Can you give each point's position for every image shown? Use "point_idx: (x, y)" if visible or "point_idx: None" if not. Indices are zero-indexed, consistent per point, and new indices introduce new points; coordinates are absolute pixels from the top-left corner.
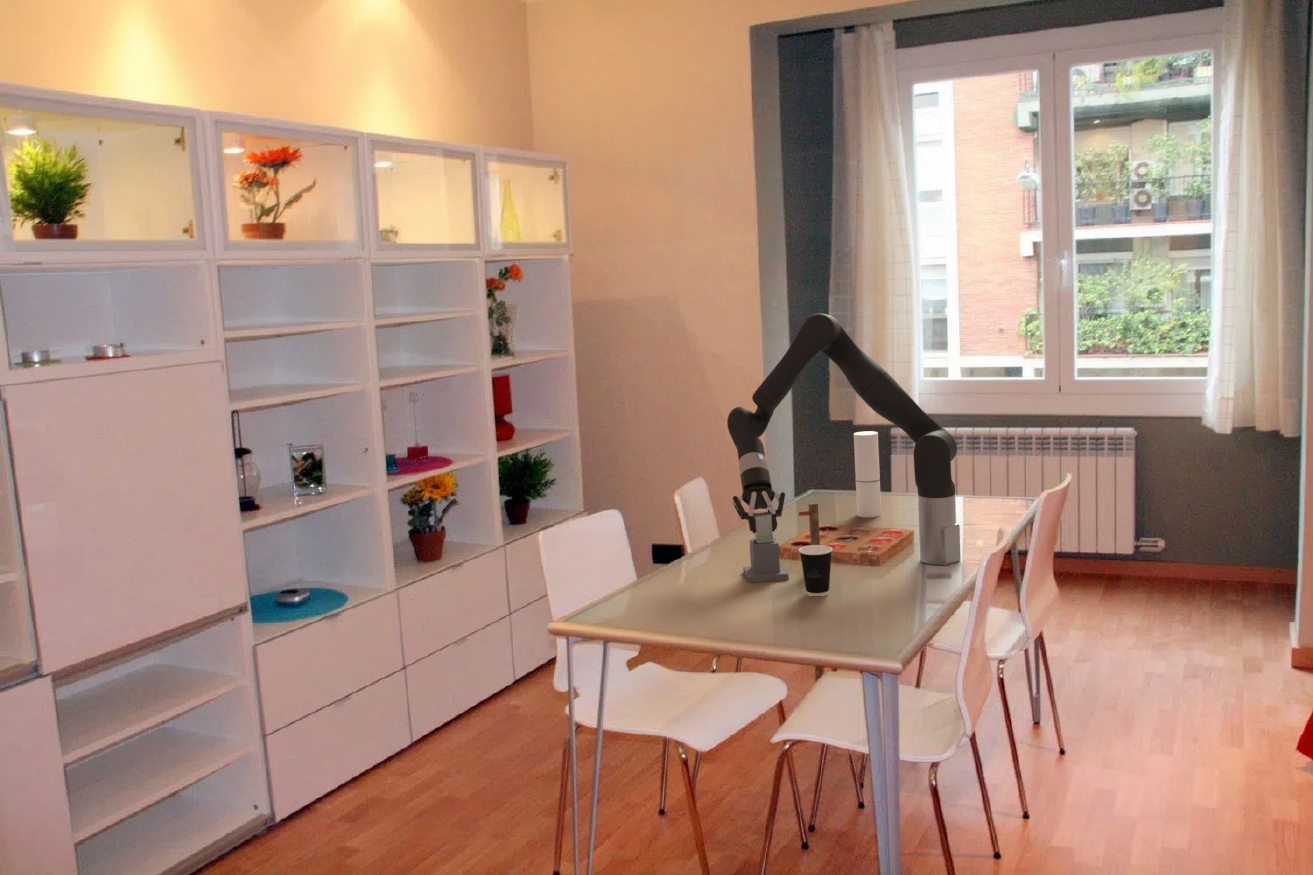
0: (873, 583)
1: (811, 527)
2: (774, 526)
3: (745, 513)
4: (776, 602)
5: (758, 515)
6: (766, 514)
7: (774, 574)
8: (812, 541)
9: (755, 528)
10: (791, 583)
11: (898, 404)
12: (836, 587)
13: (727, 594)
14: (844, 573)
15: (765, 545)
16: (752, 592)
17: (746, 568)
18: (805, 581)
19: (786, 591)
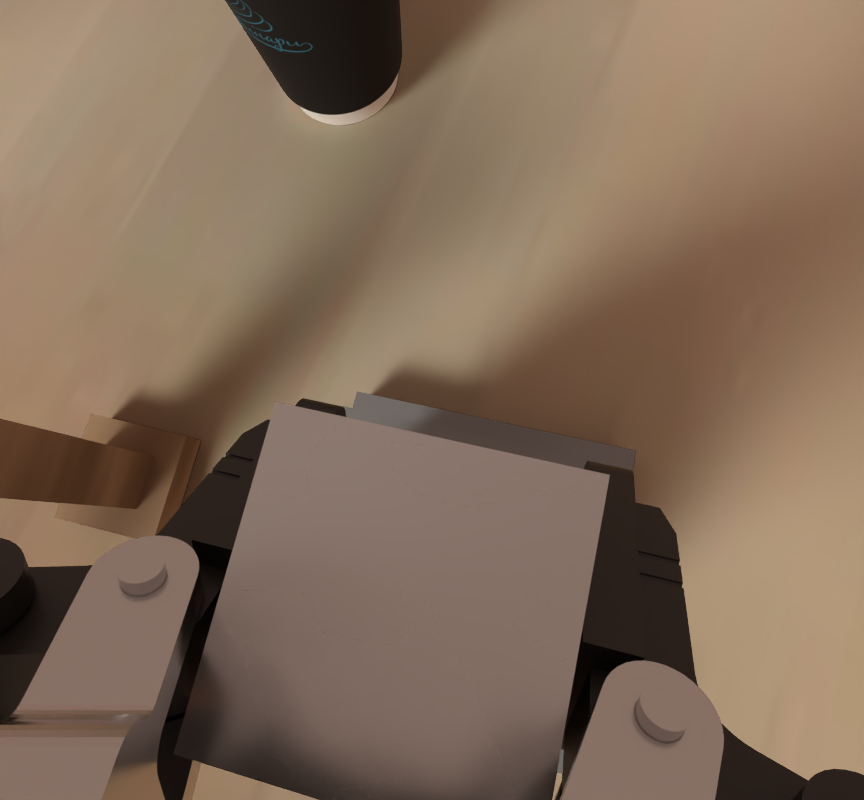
0: (18, 125)
1: None
2: (311, 400)
3: (798, 794)
4: (599, 35)
5: (514, 535)
6: (331, 520)
7: (446, 420)
8: (7, 422)
9: (596, 463)
10: (384, 317)
11: None
12: (206, 140)
13: (832, 283)
14: (29, 360)
15: (478, 436)
16: (667, 253)
17: None
18: (399, 7)
19: (474, 187)
